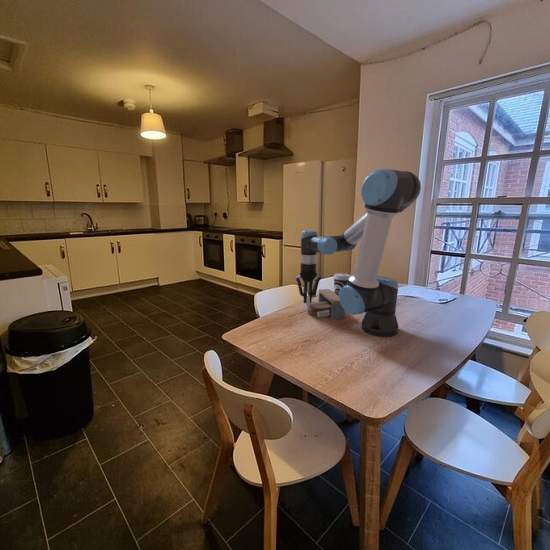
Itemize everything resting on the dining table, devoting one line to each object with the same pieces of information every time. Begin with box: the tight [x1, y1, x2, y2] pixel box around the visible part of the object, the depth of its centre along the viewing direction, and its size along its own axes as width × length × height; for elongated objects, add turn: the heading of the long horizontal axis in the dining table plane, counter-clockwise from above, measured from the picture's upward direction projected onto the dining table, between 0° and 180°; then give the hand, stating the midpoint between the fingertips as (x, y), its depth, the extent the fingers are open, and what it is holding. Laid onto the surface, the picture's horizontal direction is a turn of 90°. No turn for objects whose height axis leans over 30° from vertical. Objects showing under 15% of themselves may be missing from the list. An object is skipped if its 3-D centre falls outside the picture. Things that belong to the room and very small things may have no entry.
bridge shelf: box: [316, 288, 345, 319], centre depth 148 cm, size 20×12×9 cm, turn 11°
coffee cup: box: [333, 272, 350, 296], centre depth 165 cm, size 10×10×15 cm
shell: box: [307, 301, 332, 316], centre depth 148 cm, size 9×12×4 cm
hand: (307, 308), depth 147 cm, fingers closed
